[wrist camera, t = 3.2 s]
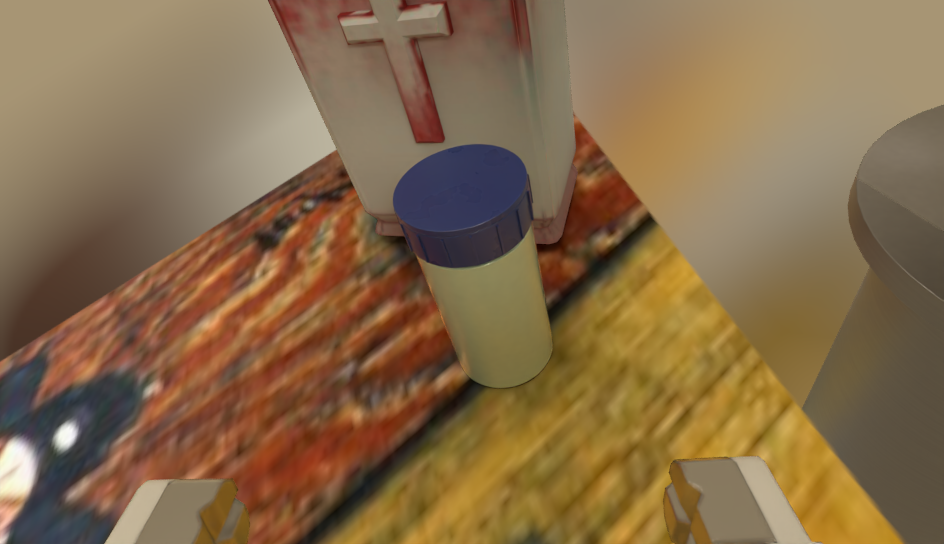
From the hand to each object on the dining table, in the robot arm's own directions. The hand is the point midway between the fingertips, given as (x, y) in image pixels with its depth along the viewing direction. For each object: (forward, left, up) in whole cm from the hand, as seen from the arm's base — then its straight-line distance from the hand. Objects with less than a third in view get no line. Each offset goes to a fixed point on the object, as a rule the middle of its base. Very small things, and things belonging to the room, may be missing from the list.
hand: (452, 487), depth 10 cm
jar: (-4, -14, -16) cm, 22 cm away
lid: (-4, -14, -4) cm, 16 cm away
